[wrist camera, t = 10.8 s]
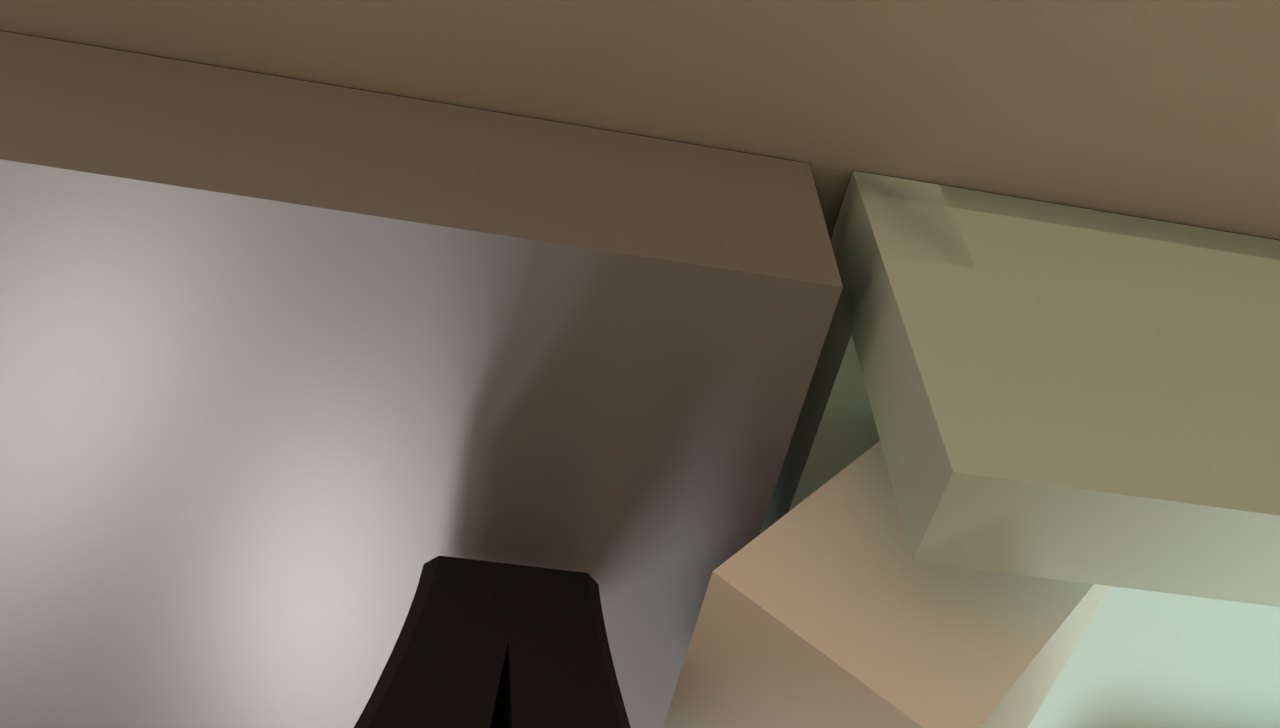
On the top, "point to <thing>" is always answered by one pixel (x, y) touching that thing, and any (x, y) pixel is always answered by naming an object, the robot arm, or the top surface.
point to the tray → (1071, 429)
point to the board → (364, 379)
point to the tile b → (871, 626)
